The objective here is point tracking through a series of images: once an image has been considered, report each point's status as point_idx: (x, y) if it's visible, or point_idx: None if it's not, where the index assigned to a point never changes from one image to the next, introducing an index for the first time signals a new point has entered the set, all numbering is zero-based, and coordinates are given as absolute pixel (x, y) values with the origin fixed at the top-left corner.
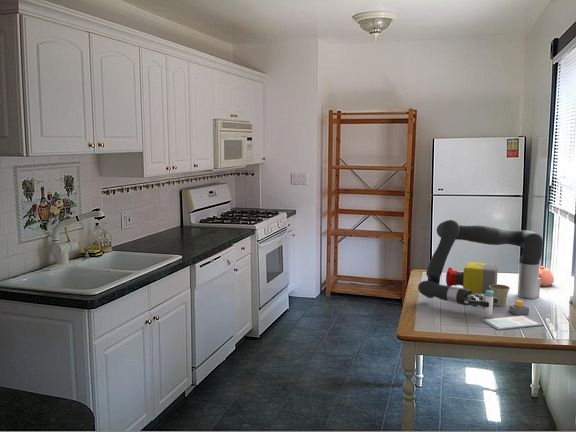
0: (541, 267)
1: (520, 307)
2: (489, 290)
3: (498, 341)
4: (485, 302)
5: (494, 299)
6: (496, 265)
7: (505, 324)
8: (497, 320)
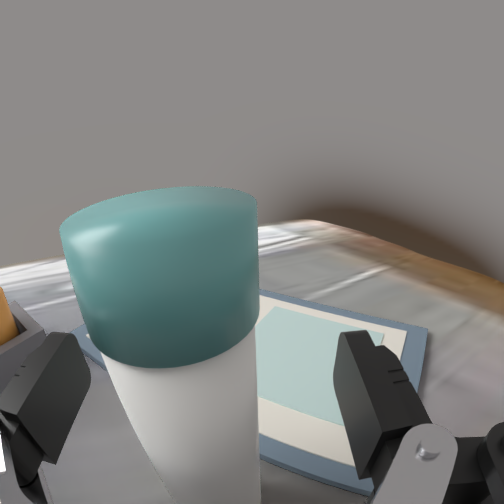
0: None
1: (15, 323)
2: (81, 223)
3: (496, 283)
4: (377, 360)
5: (62, 367)
6: None
7: (331, 337)
8: (298, 396)
